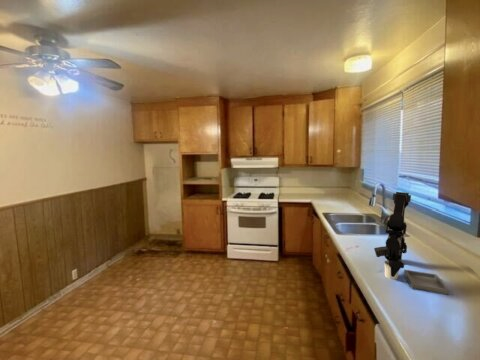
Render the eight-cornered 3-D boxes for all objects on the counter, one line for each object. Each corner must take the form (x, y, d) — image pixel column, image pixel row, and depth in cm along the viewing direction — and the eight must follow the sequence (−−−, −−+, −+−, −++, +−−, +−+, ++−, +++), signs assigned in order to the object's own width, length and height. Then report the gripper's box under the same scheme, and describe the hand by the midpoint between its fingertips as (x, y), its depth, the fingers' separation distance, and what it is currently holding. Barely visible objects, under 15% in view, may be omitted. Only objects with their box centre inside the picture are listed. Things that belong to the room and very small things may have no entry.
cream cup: (384, 272, 143) (386, 259, 142) (400, 276, 139) (401, 263, 138) (381, 276, 138) (383, 263, 137) (397, 281, 133) (398, 267, 132)
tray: (404, 273, 141) (404, 269, 141) (436, 278, 137) (436, 274, 137) (412, 288, 126) (412, 284, 126) (448, 294, 122) (448, 290, 122)
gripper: (373, 235, 147) (371, 263, 149) (378, 247, 130) (376, 279, 132) (397, 238, 144) (394, 266, 146) (405, 251, 126) (402, 283, 128)
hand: (391, 273), depth 138 cm, fingers closed on cream cup, 6 cm apart
